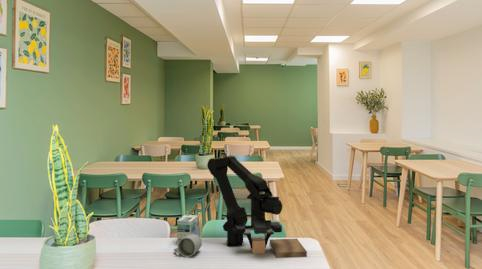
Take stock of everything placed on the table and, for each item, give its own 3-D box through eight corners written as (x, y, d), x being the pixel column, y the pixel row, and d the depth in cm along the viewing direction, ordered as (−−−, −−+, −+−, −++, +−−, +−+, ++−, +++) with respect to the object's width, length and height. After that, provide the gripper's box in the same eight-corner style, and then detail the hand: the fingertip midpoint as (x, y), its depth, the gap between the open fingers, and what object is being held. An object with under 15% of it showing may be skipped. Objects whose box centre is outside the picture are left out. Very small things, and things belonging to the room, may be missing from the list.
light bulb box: (191, 246, 155) (191, 221, 155) (176, 245, 157) (176, 220, 156) (199, 238, 166) (199, 214, 166) (185, 237, 167) (185, 214, 167)
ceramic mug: (203, 250, 150) (202, 232, 149) (195, 258, 142) (195, 238, 141) (179, 249, 152) (178, 230, 152) (170, 256, 144) (170, 236, 144)
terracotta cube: (252, 253, 146) (252, 241, 146) (251, 249, 151) (251, 237, 151) (265, 253, 147) (265, 240, 146) (263, 248, 152) (263, 236, 151)
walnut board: (276, 257, 141) (276, 252, 141) (269, 244, 157) (269, 239, 157) (306, 256, 142) (306, 251, 142) (296, 243, 158) (296, 238, 158)
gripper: (236, 216, 139) (236, 256, 140) (284, 214, 141) (284, 254, 142) (234, 209, 151) (234, 246, 151) (279, 208, 152) (279, 245, 153)
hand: (258, 248), depth 149 cm, fingers closed on terracotta cube, 5 cm apart
